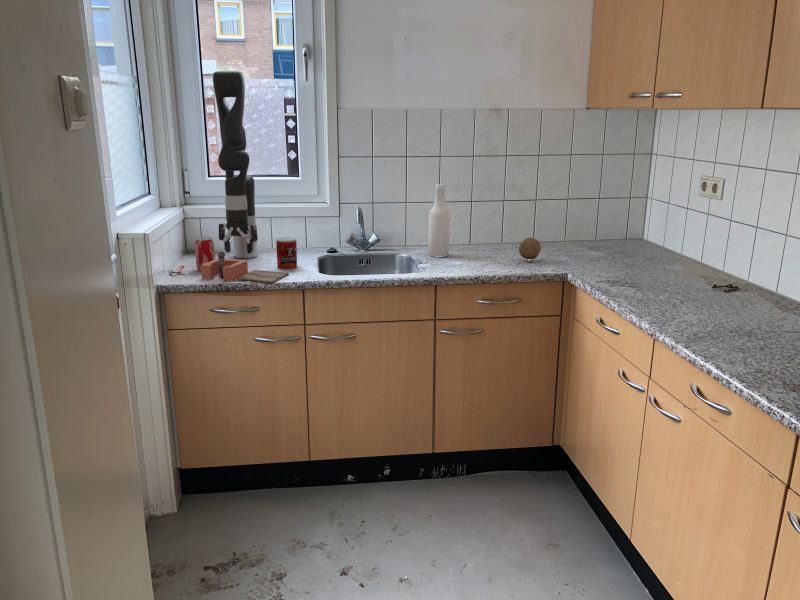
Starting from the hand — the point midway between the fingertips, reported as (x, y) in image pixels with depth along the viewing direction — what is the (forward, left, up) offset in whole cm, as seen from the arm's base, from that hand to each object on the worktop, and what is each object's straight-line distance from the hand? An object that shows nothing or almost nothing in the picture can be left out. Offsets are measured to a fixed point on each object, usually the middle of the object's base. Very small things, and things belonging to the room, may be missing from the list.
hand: (238, 252), depth 239 cm
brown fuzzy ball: (-58, +100, -9) cm, 116 cm away
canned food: (-19, +10, -9) cm, 24 cm away
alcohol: (-58, +62, -9) cm, 86 cm away
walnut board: (0, +9, -9) cm, 13 cm away
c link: (+2, -5, -9) cm, 10 cm away
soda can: (-5, -17, -9) cm, 20 cm away
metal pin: (+4, -5, -9) cm, 11 cm away
